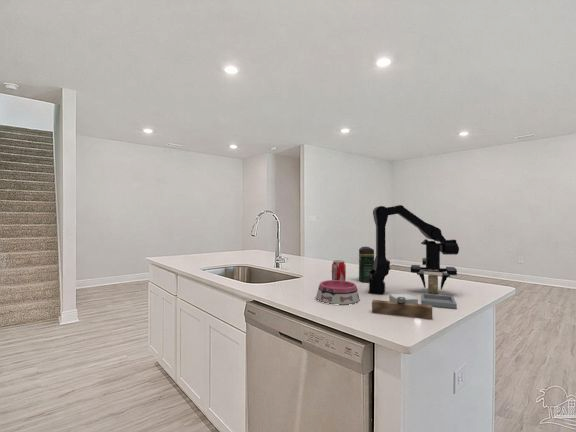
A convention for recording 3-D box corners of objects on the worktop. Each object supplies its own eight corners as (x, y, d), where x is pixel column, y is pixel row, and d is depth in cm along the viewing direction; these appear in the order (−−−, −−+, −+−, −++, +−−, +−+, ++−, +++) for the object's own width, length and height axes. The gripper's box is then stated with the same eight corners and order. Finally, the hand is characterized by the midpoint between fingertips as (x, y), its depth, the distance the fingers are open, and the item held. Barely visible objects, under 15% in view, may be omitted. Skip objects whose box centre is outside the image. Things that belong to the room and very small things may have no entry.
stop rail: (372, 312, 112) (371, 296, 112) (373, 310, 115) (373, 294, 115) (432, 319, 104) (432, 301, 104) (432, 316, 107) (431, 299, 107)
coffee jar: (375, 283, 161) (375, 247, 161) (360, 282, 162) (360, 247, 162) (372, 279, 171) (372, 245, 171) (358, 278, 172) (358, 245, 172)
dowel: (428, 293, 138) (428, 276, 138) (428, 291, 142) (428, 274, 142) (438, 294, 137) (438, 276, 137) (437, 292, 141) (437, 275, 141)
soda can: (345, 286, 154) (345, 262, 154) (331, 285, 156) (331, 262, 156) (345, 283, 161) (345, 260, 161) (332, 282, 162) (332, 260, 162)
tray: (421, 305, 120) (421, 300, 120) (421, 298, 131) (421, 293, 131) (456, 309, 116) (456, 303, 116) (453, 301, 127) (453, 296, 127)
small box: (407, 306, 120) (407, 293, 120) (418, 312, 112) (418, 298, 112) (388, 307, 119) (388, 294, 119) (398, 313, 111) (398, 299, 111)
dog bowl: (368, 298, 131) (368, 283, 131) (345, 308, 118) (345, 291, 118) (331, 292, 144) (331, 277, 144) (307, 300, 130) (307, 284, 130)
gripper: (454, 253, 143) (454, 286, 143) (411, 251, 150) (411, 283, 150) (456, 256, 133) (457, 292, 133) (410, 254, 140) (410, 288, 140)
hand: (433, 288), depth 139 cm, fingers open, 6 cm apart
